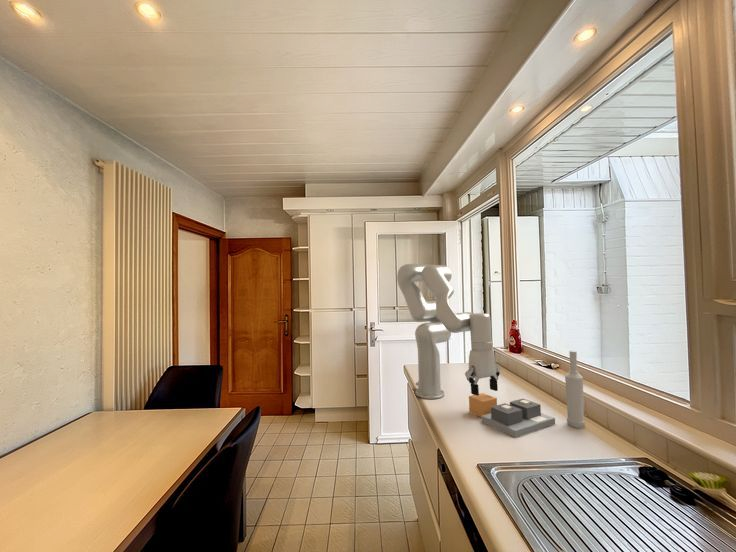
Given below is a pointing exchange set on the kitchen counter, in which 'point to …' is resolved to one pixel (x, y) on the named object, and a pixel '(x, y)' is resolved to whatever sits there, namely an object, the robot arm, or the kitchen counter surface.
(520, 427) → the panel
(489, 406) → the orange cube-like block
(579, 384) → the bottle
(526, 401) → the toggle far
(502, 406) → the toggle near
